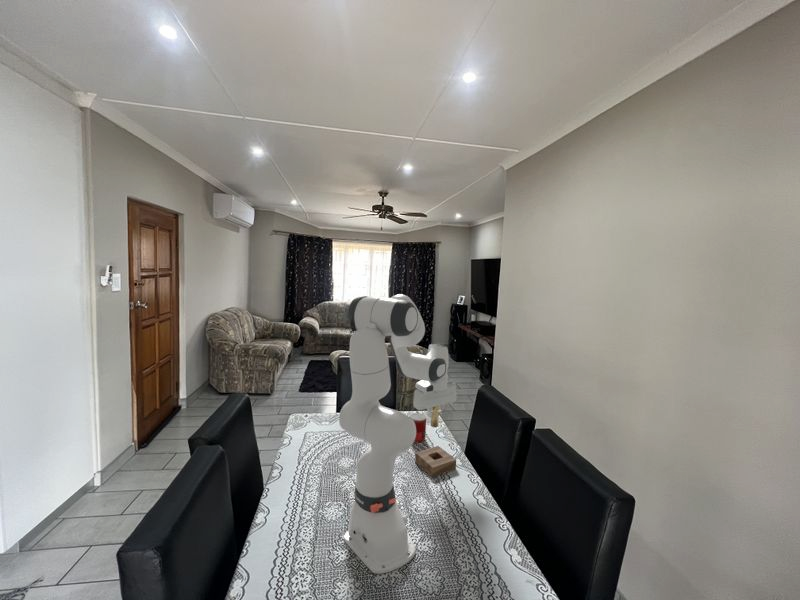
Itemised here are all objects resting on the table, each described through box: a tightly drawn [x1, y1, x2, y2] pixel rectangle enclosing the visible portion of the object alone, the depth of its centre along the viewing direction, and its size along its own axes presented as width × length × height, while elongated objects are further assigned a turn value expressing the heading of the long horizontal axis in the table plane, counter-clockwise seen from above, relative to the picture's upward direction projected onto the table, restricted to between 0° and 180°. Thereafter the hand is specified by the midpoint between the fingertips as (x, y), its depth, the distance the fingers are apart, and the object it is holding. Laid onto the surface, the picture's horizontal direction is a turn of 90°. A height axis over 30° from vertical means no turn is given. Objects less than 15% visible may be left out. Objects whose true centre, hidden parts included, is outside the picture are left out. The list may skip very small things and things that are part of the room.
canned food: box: [409, 412, 427, 443], centre depth 158 cm, size 8×8×11 cm
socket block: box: [414, 445, 457, 478], centre depth 136 cm, size 12×12×4 cm
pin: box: [430, 406, 440, 428], centre depth 135 cm, size 3×3×10 cm
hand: (435, 415), depth 135 cm, fingers closed on pin, 3 cm apart
